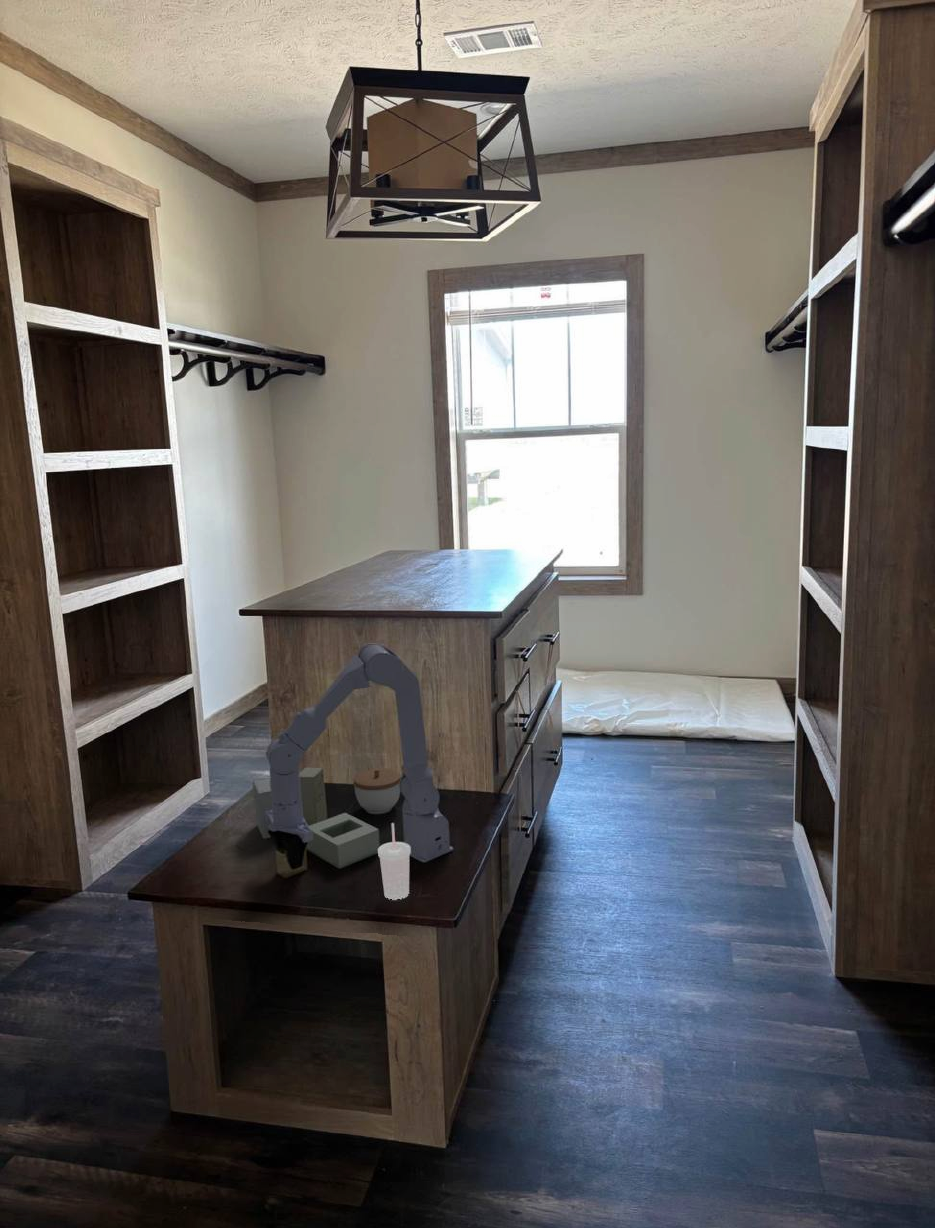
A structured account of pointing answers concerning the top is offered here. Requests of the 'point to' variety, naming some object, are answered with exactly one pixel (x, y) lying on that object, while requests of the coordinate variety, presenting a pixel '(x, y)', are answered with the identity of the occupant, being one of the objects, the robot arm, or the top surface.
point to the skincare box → (313, 795)
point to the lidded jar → (377, 789)
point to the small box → (262, 805)
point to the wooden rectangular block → (287, 863)
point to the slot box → (343, 840)
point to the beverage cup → (395, 868)
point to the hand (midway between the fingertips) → (291, 864)
